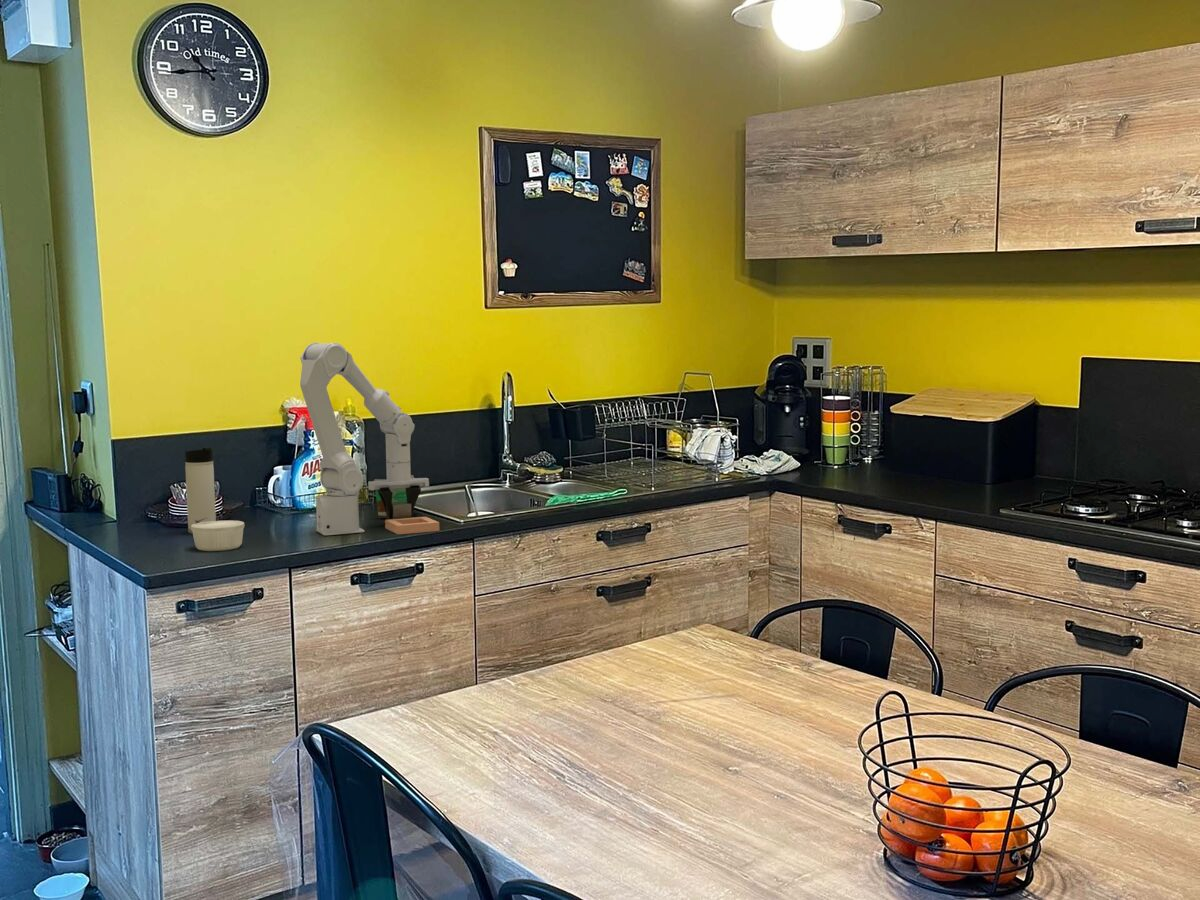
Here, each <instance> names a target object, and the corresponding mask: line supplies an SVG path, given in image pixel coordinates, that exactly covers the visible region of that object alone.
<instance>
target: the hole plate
mask: <svg viewBox="0 0 1200 900" xmlns="http://www.w3.org/2000/svg"><path fill="white" fill-rule="evenodd" d="M384 524H385V525H384V526H385V527H384V528H385V530H387V531H389V532H392V533H394V534H396V535H407V534H418V533H419V534H420V533H431V532H440V522H439V521H437V520H435V519H432V518H430V517H428V516H418V517H412V518H403V519H391V520H388V519H385V520H384Z"/></svg>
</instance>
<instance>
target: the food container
mask: <svg viewBox="0 0 1200 900" xmlns="http://www.w3.org/2000/svg"><path fill="white" fill-rule="evenodd" d="M411 478H415V477H414V475H412V474H411ZM380 480H387V478H386V479H385V478H384V479H380V478H374V480H373V481H380ZM405 485H407V484H405ZM392 486H402V485H392ZM407 488H408V487H407ZM405 489H406V488H392V489H389V490H391V492H392V493H393V494H392V502H405V501H406V502H407V497H406V490H405ZM375 496H376V497H375V499H376V507H377V516H380V517H387V515H386V511H385V508H384V505H383V502H382V500H381V498H380V496H379V494H378V492H377V490H375Z"/></svg>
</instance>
